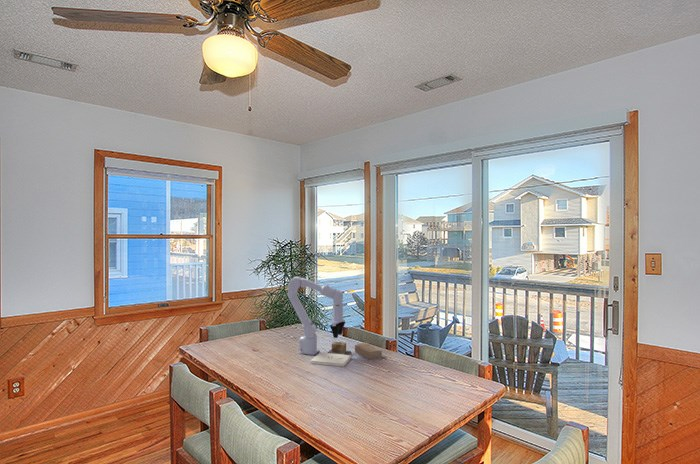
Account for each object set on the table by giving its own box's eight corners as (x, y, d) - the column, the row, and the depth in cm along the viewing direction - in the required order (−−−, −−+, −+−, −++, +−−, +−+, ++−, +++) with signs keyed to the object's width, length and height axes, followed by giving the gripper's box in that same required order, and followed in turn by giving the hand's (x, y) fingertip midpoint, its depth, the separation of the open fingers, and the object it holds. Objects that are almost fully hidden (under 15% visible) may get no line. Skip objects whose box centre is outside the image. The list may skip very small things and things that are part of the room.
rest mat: (326, 354, 208) (326, 353, 208) (330, 350, 216) (330, 349, 216) (347, 356, 205) (347, 355, 205) (350, 352, 212) (350, 351, 212)
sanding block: (331, 353, 209) (331, 344, 209) (334, 350, 214) (334, 341, 214) (343, 354, 207) (343, 345, 207) (346, 351, 212) (346, 342, 212)
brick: (382, 357, 203) (382, 349, 203) (370, 360, 199) (370, 351, 199) (366, 350, 218) (366, 342, 218) (354, 352, 213) (353, 344, 213)
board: (310, 363, 194) (310, 360, 194) (320, 355, 207) (320, 352, 207) (343, 366, 189) (343, 363, 189) (351, 358, 202) (351, 355, 202)
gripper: (340, 315, 204) (340, 339, 204) (348, 310, 218) (348, 333, 218) (328, 314, 206) (328, 338, 206) (336, 309, 220) (336, 332, 220)
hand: (337, 335), depth 212 cm, fingers open, 7 cm apart
